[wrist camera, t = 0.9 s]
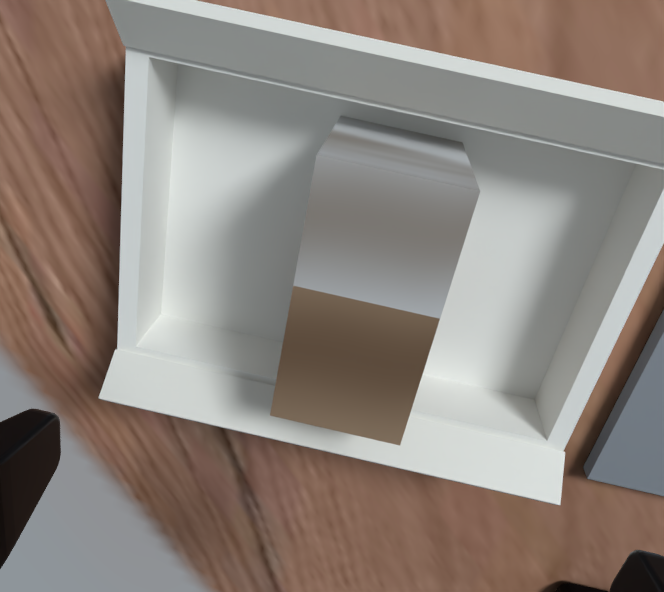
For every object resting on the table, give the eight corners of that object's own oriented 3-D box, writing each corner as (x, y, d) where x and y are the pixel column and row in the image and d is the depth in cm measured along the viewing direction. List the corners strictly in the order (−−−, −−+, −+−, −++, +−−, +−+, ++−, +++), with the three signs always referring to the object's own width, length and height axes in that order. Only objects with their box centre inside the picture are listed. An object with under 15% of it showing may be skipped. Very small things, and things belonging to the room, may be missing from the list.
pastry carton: (534, 432, 22) (556, 511, 18) (145, 343, 22) (98, 405, 19) (683, 97, 16) (754, 121, 13) (165, -15, 17) (103, -19, 13)
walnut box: (402, 349, 21) (400, 445, 16) (300, 326, 21) (269, 415, 16) (462, 142, 17) (480, 191, 13) (340, 115, 17) (316, 154, 13)
